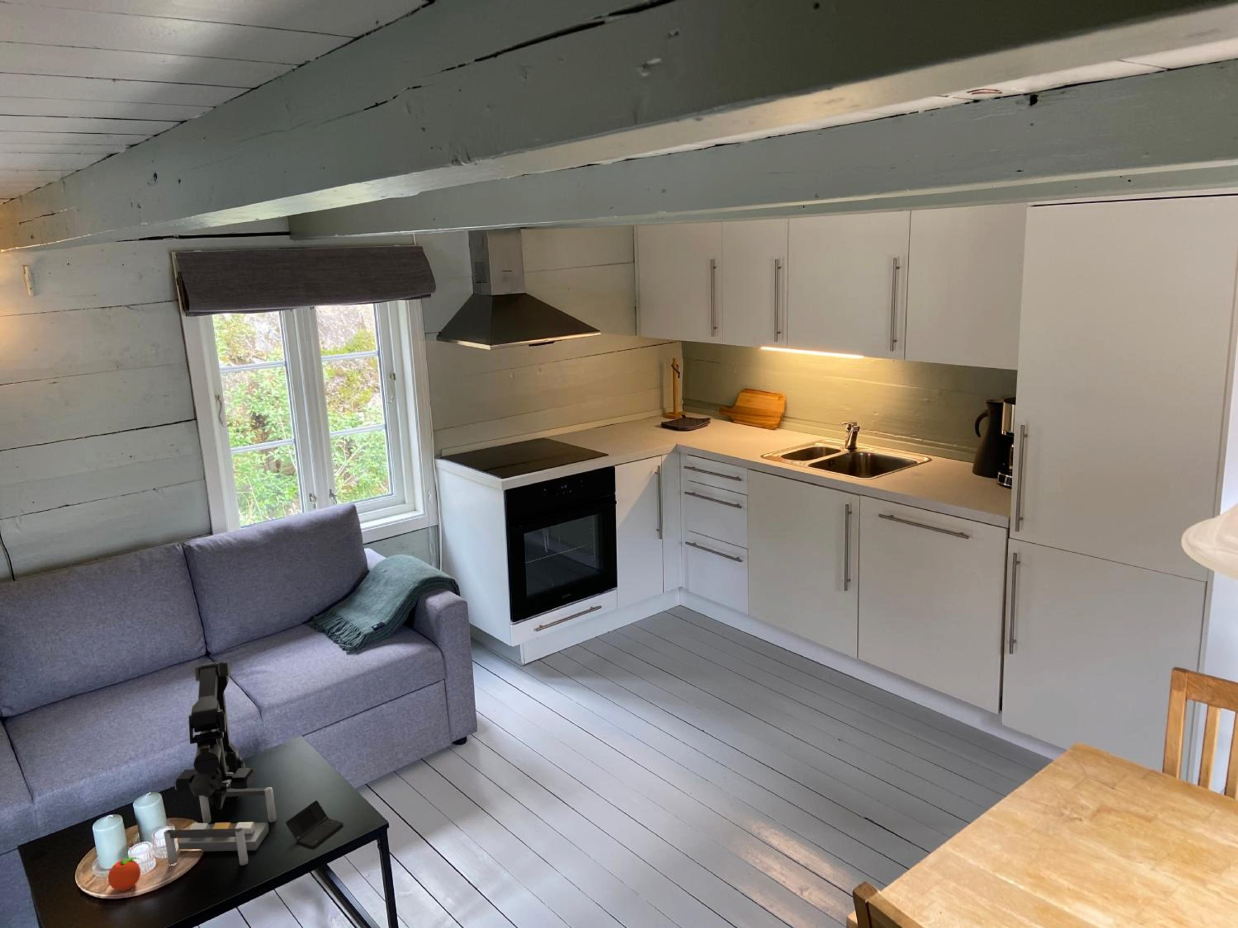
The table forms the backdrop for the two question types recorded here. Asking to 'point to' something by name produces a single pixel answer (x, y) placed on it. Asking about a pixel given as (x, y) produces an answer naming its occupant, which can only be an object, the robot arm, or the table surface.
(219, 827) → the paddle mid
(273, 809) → the frame
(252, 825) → the paddle
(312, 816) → the handheld gaming console
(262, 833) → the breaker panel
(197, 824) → the paddle
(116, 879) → the clementine
